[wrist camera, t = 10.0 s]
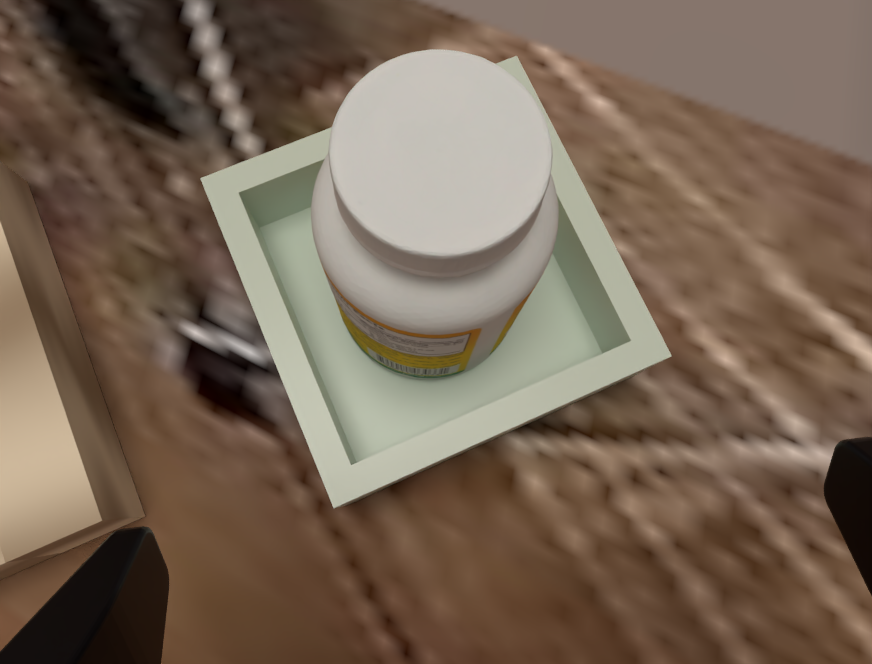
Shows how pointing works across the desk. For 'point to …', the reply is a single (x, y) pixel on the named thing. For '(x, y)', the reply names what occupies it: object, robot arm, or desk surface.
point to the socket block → (49, 405)
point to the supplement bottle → (435, 210)
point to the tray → (415, 398)
